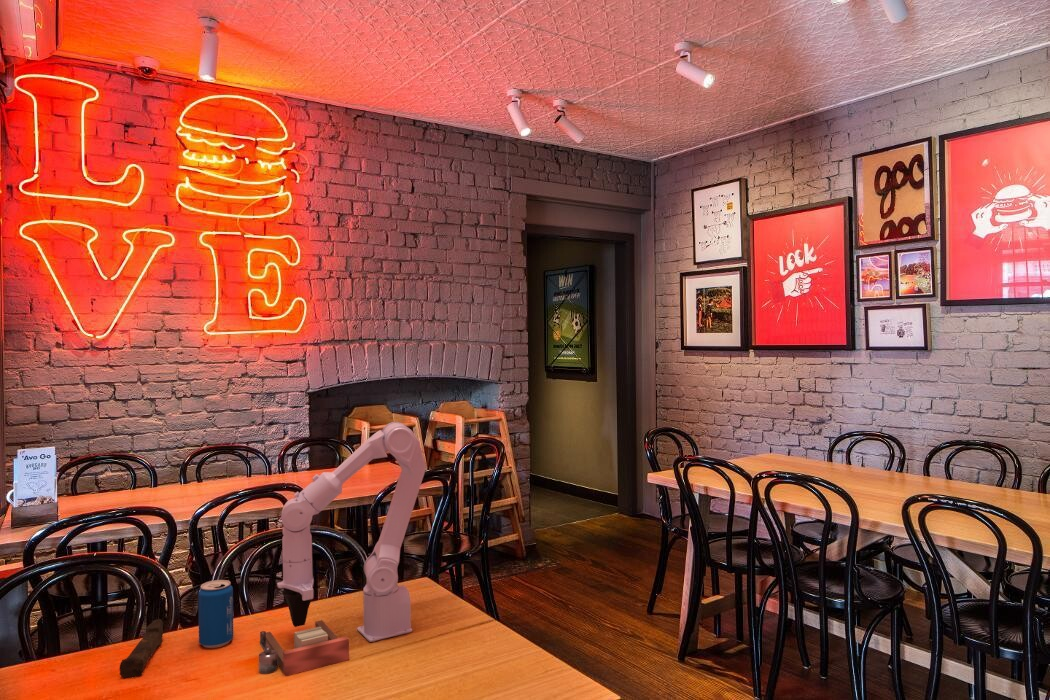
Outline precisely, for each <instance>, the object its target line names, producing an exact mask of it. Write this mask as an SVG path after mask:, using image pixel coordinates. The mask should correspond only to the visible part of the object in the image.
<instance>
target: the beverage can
mask: <svg viewBox="0 0 1050 700" xmlns="http://www.w3.org/2000/svg"><path fill="white" fill-rule="evenodd" d="M197 596H198V597H197V598H198V602H197V603H198V604H197V605H198V606H197V607H198V644H199V645H201V646H203V648H206V649H215V648H216V649H218V648H220V647H224V646H226V645H227V644H229V643H230V641H232V640H233V638H234V587H233V586H232V585H231V581H230V580H228V579H227V580H226V579H216V580H209V581H206V582H204V583H202V584H201V585H200V589H199V590H198V594H197Z"/></svg>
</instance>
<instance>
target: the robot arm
mask: <svg viewBox="0 0 1050 700" xmlns="http://www.w3.org/2000/svg"><path fill="white" fill-rule="evenodd" d="M387 452H388V453H389V454H390V455H391V456H393V458H394V459H395V460H396V462H397V464H398V465H399V468H400V474H399V477H398V480H397V482H396V485H395V489H394V492H393V495H392V499H391V501H390V505H389V506H388V507H389V508H388V510H387V514H386V517H385V520H384V522H383V526H382V529H381V532H380V536H379V538H378V541H377V542H376V543H375V546H374V548H373V549H372V552H371V554H370V555H369V556H368V557H367V558H366V560H365V562H364V565H363V573H364V576H365V578H366V584H365V586H364V587H363V590H362V591H363V595H362V596H363V597H362V599H363V603H362V604H363V610H362V611H363V625H360V626H358V627H356V630H357V632H359V633H360V635H362V636H363V637H364V638H365V639H366V640H367V641H368V642H370V643H373V642H376V641H380V640H384V639H388V638H392V637H397V636H400V635H404V634H408V633H412V632H413V629H412V624H411V623H412V618H411V617H412V612H411V610H412V609H411V608H412V607H411V606H412V605H411V604H412V603H411V602H412V601H411V596H410V595H411V594H410V591H409V590H408V588H407V586H405V585H404V584H402V585H398V582H399V575H398V566H399V564H400V557H401V556H400V555H401V547H402V545H403V542H404V539H405V535H406V532H407V529H408V525H409V523H410V519H411V516H412V513H413V512H414V507H415V504H416V501H417V497H418V495H419V492H420V488H421V486H422V481H423V479H424V476H425V473H426V467H427V466H426V463H425V459H424V456H423V452H422V448H421V442H420V440H419V439H418V437H417V436H416V434H415V433H414V432H413V430H412V429H410V427H408V426H407V425H406V424H404V423H402V422H400V421H392V422H389V423H387V424H385V426H384V427H383V428H382V429H380V430H378V431H377V432H375V433H374V434H372V435H371V436H370V437H369V438H368V439H366V440H365V441H364V442H363V443H362V444H361V445H360V446H359V447H358V448H357V449H355V450H354V451H353V452H352V454H350V455H349V456H348V457H347V458H346V459H344V461H343V462H342V463H341V464H340V465H339V466H338V467H336V468H335V469H334V470H333V471H332V472H331V471H328V472H327V471H323V472H322V473H320V474H318V473H316V474H315V475H313V476H312V482H310V483H309V484H308V485H307V486H306V487H304V488H303V489H302V490H301V491H300V492H299V491H296V492H295V493H294V495H293V496H294V498H290V499H289V500H287V501H286V502H285V504H284V505H283V507H282V511H281V518H280V519H281V522H282V526H283V527H282V535H283V536H282V539H281V540H282V541H281V543H282V544H281V545H282V549H281V550H282V578H283V579H282V581H279V582H276V587H277V588H278V589H284V590H282V591H281V594H282V596H283V597H284V599H285V602H286V603H287V607H288V610H289V611H288V612H289V616H290V619H291V623H292V625H293V627H294V628H297V627H301V626H305V625H306V621H307V618H308V612H309V608H310V605H311V602H312V600H313V599H314V596H315V590H314V588H313V587H314V582H315V579H314V576H313V545H312V544H313V543H312V539H313V537H312V533H311V524H312V521H313V516H314V515H319V513H321V512H322V510H325V508H326V507H327V506H329V505H330V504H331V503H332V502H333V501H334V500H335V499H336V498H337V497H338V496H340V495H341V494H342V492H343V484H344V483H345V482H346V481H348V480H349V479H350V478H351V477H353V476H354V475H355V474H356V473H357V472H358V471H360V470H362V468H364V466H367V464H368V463H370V462H371V461H372V460H375V459H382V458H383V459H384V458H388V455H387Z"/></svg>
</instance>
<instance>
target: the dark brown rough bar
mask: <svg viewBox="0 0 1050 700" xmlns="http://www.w3.org/2000/svg"><path fill="white" fill-rule="evenodd" d="M163 627H164V623H163V620H162V619H161V618H157V619H154V620H153V621H152V622H151V623H149V625H147V626H146V628H145V634H144V635H143V637H142V638H141V640H140V641H139V642H138V643H137V644H136V646H135V647H134V648H133V650H131V652H130V654H129V655H128V656H126V658H124V659H122V660H121V662H120V665H119V675H120V676H121V677H122V678H123V679H128V678H129V679H131V678H132V677H133V678H137V677H140V676H141V675H142V674H143V672H144V669H145V667H146V665H147V663H148V661H149V660H150V659H151V658H152V655H153V654H154V652H155V651H156V649H158V648H160V647H161V645H162V642H163V634H164V629H163Z"/></svg>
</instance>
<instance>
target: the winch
mask: <svg viewBox="0 0 1050 700" xmlns="http://www.w3.org/2000/svg"><path fill="white" fill-rule="evenodd" d="M259 637H260V638H259V646H260V647H261V648H262V650H263V651H261V652H260V653H258V672H259V673H260V674H261V675H262V674H264V675H265V674H272V673H275V672H276V671H277V670H278V664H277V651H275V650H271V648H270V646H269V645H268V643H267V642H266V631H265V630H262V631H260V632H259Z"/></svg>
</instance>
